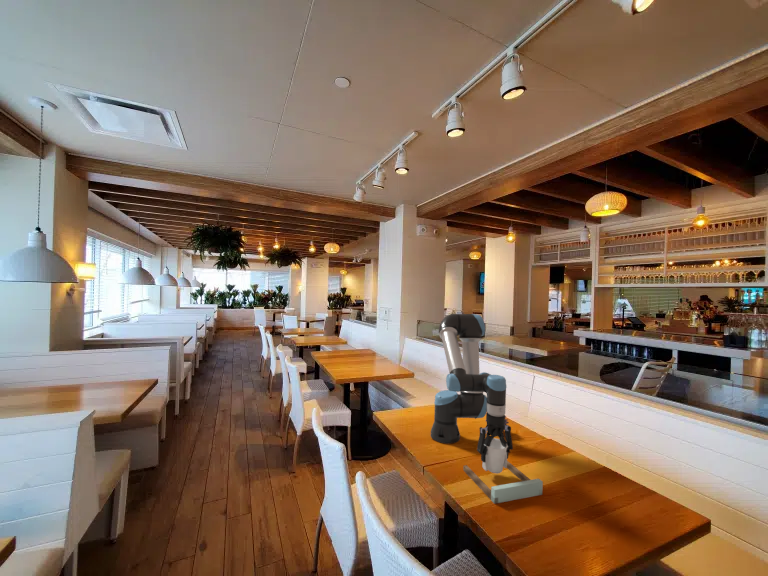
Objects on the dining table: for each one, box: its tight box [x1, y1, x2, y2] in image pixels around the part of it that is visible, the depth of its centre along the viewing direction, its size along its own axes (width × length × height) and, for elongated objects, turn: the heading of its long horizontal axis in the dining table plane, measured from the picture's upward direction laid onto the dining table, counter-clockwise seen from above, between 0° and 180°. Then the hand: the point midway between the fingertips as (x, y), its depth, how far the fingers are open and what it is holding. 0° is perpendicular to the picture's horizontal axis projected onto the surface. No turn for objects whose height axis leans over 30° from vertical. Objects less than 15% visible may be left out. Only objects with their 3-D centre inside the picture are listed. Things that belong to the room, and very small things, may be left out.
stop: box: [490, 478, 544, 504], centre depth 122 cm, size 2×21×5 cm, turn 106°
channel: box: [462, 460, 543, 504], centre depth 131 cm, size 22×21×2 cm
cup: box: [484, 437, 508, 474], centre depth 135 cm, size 10×10×11 cm
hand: (494, 467), depth 135 cm, fingers closed on cup, 8 cm apart
